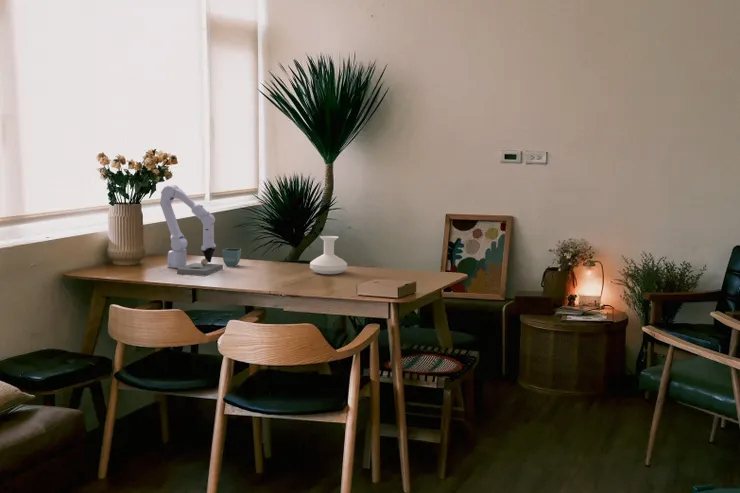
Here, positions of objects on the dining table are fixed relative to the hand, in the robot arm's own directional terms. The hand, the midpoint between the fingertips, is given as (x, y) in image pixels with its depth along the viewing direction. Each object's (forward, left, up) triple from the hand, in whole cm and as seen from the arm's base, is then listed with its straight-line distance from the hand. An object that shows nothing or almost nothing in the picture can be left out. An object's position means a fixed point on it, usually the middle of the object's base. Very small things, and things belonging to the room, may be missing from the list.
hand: (208, 262), depth 435 cm
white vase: (+64, +10, -4) cm, 65 cm away
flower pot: (+8, +14, -4) cm, 16 cm away
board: (0, -10, -3) cm, 11 cm away
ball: (0, -5, +1) cm, 6 cm away
